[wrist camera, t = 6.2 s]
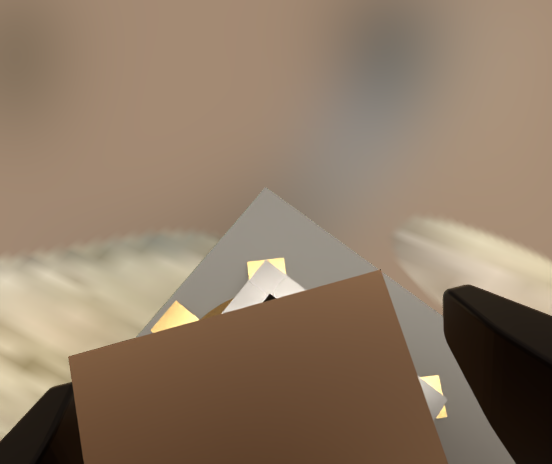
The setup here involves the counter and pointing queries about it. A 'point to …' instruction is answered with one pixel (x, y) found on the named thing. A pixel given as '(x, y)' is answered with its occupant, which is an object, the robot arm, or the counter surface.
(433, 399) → the gears
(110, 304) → the counter surface
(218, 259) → the board
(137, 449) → the peg
